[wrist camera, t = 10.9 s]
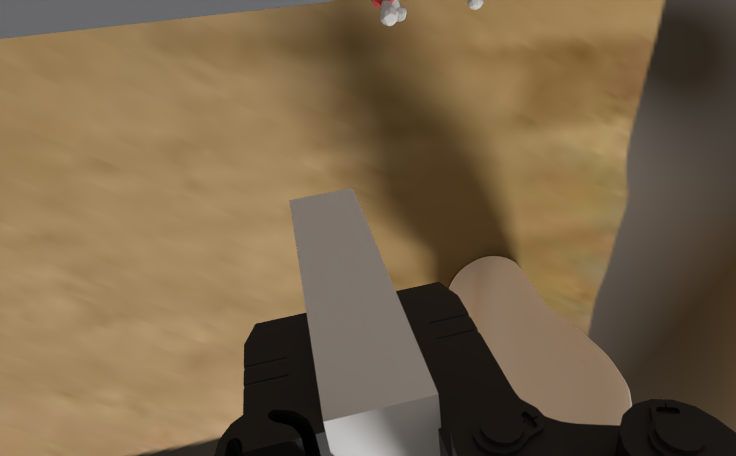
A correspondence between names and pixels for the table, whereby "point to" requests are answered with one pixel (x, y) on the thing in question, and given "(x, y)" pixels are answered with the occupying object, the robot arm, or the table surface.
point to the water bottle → (540, 346)
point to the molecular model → (397, 12)
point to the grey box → (114, 12)
